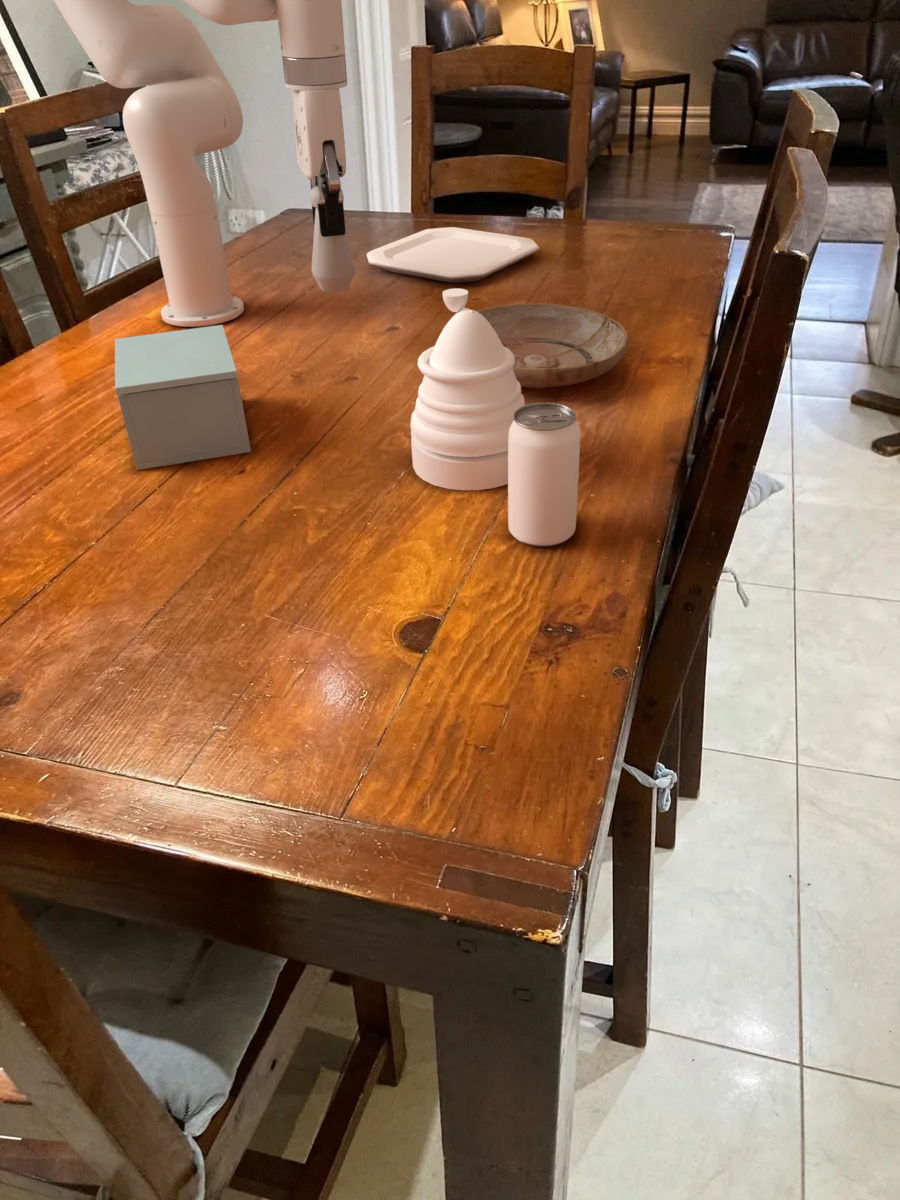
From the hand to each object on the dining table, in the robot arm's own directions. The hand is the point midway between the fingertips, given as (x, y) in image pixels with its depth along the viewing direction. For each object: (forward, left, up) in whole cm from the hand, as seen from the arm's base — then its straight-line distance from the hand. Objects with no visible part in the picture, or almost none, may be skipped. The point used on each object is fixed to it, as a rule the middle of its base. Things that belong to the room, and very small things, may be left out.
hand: (329, 228), depth 123 cm
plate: (-33, +26, -16) cm, 45 cm away
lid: (+22, -23, -7) cm, 32 cm away
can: (+56, +8, -16) cm, 59 cm away
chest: (+21, -23, -16) cm, 35 cm away
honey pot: (+40, +6, -16) cm, 44 cm away
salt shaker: (0, 0, -8) cm, 8 cm away
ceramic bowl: (+18, +22, -16) cm, 33 cm away
